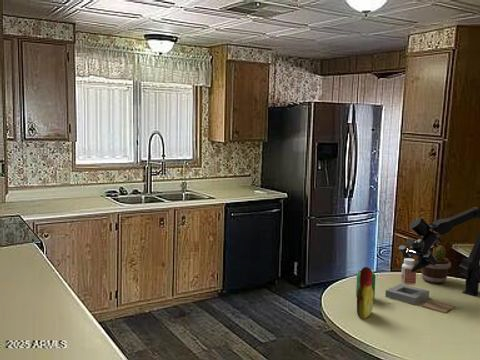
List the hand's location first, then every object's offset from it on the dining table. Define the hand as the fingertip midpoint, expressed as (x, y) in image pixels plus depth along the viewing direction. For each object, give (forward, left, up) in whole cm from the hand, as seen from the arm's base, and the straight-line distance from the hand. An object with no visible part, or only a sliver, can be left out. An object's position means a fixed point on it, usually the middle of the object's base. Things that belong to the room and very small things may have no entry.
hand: (406, 269), depth 219 cm
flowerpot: (-34, -2, -13) cm, 37 cm away
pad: (+1, +15, -13) cm, 20 cm away
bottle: (+33, -2, -13) cm, 35 cm away
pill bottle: (-1, +1, -7) cm, 7 cm away
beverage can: (+15, -12, -13) cm, 23 cm away
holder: (-1, 0, -13) cm, 13 cm away
